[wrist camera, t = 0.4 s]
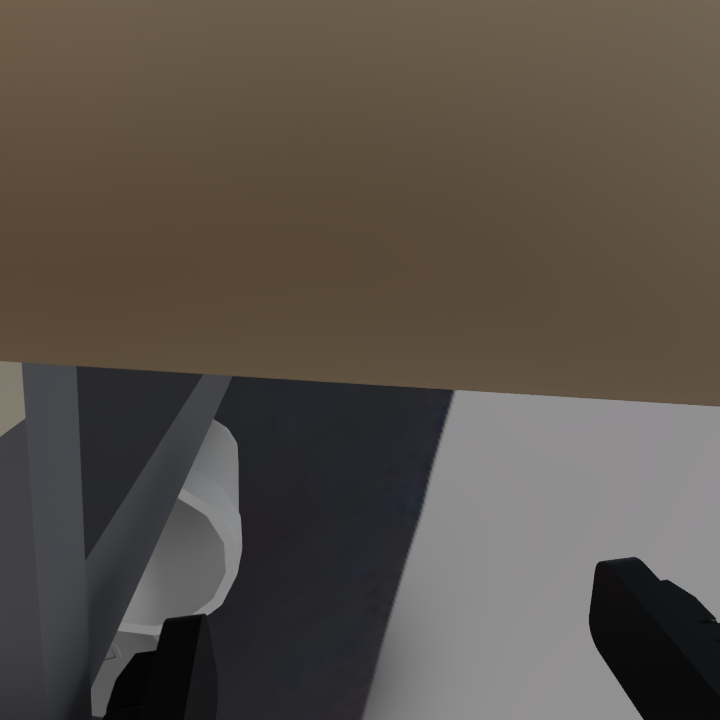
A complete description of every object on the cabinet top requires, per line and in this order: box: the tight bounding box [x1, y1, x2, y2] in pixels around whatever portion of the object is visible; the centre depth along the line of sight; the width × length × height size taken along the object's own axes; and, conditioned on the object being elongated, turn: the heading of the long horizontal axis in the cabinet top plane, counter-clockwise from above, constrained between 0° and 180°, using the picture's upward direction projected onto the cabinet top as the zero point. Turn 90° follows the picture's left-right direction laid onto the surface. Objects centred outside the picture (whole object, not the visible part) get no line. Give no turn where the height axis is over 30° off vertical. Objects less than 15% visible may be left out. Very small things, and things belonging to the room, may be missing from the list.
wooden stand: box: [0, 363, 232, 720], centre depth 21 cm, size 20×7×32 cm, turn 175°
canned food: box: [91, 631, 160, 717], centre depth 38 cm, size 8×8×11 cm
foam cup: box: [117, 419, 242, 635], centre depth 35 cm, size 10×9×13 cm
